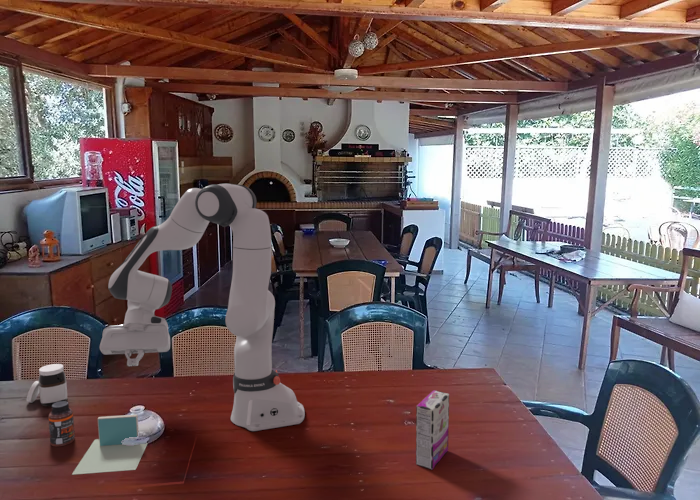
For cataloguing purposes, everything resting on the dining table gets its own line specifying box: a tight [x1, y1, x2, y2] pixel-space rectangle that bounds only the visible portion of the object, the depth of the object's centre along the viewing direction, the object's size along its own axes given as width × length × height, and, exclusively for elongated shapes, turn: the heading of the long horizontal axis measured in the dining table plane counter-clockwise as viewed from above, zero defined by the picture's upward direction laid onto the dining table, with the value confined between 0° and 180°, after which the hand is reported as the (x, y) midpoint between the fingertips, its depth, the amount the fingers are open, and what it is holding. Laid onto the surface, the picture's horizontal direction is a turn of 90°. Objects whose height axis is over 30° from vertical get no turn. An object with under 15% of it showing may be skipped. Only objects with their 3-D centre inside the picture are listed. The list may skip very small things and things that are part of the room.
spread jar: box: [26, 363, 68, 407], centre depth 167 cm, size 12×11×12 cm
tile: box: [97, 414, 140, 446], centre depth 140 cm, size 10×1×8 cm, turn 99°
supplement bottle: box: [48, 400, 76, 448], centre depth 142 cm, size 6×6×11 cm
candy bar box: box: [415, 389, 450, 470], centre depth 135 cm, size 11×5×16 cm, turn 148°
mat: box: [71, 438, 149, 476], centre depth 136 cm, size 15×17×1 cm
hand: (132, 365), depth 155 cm, fingers closed
